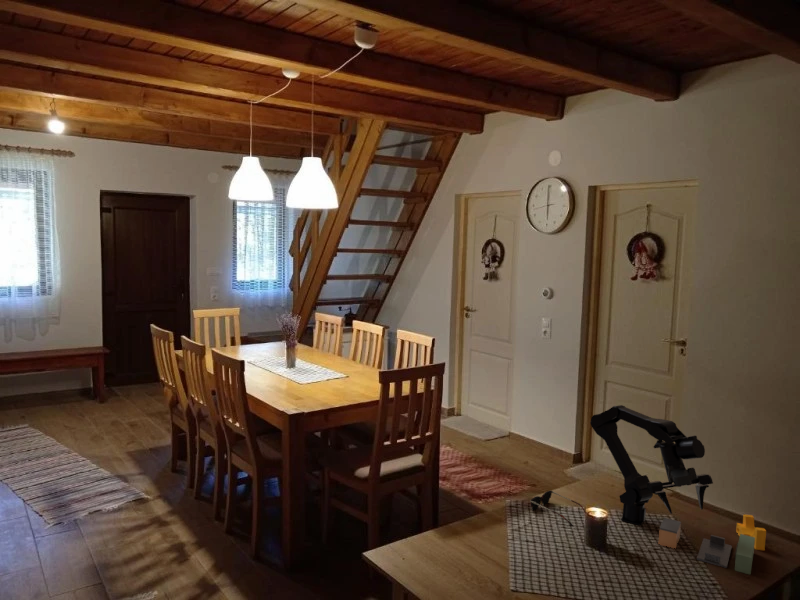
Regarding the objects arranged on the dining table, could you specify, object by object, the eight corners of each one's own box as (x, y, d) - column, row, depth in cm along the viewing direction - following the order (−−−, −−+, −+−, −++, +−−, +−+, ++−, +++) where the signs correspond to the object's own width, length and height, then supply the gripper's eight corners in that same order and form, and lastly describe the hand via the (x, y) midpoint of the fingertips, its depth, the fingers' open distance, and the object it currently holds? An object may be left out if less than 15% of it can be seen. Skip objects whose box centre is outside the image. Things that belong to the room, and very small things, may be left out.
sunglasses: (549, 502, 223) (551, 489, 222) (590, 519, 212) (592, 506, 211) (528, 512, 213) (530, 499, 213) (570, 531, 202) (572, 517, 201)
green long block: (733, 569, 179) (734, 553, 178) (737, 548, 192) (738, 533, 192) (750, 574, 176) (751, 558, 176) (753, 553, 190) (755, 537, 189)
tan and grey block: (658, 544, 193) (659, 527, 192) (662, 534, 200) (664, 517, 200) (675, 549, 190) (676, 531, 190) (679, 538, 198) (681, 521, 197)
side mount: (696, 559, 184) (697, 551, 184) (703, 540, 197) (704, 532, 197) (726, 568, 180) (727, 559, 179) (731, 547, 193) (732, 539, 193)
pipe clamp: (736, 532, 204) (737, 513, 204) (750, 534, 204) (752, 515, 203) (749, 549, 193) (751, 529, 192) (764, 551, 192) (766, 531, 191)
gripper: (647, 466, 191) (660, 518, 187) (710, 456, 188) (725, 509, 184) (641, 465, 201) (654, 514, 197) (701, 455, 198) (715, 506, 194)
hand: (686, 511), depth 193 cm, fingers open, 9 cm apart
